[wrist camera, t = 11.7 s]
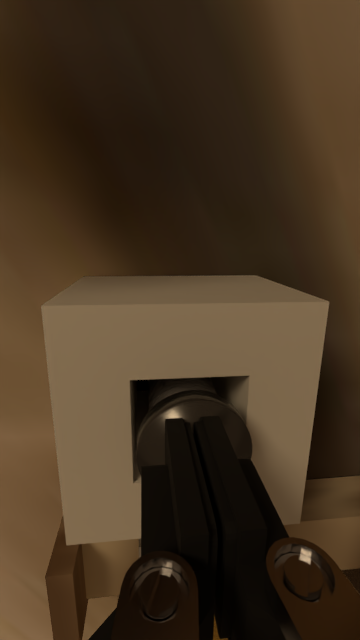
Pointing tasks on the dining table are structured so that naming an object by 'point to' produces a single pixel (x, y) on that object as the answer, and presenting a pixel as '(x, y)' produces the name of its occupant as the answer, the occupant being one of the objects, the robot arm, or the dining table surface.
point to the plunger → (186, 416)
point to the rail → (117, 556)
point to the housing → (168, 363)
